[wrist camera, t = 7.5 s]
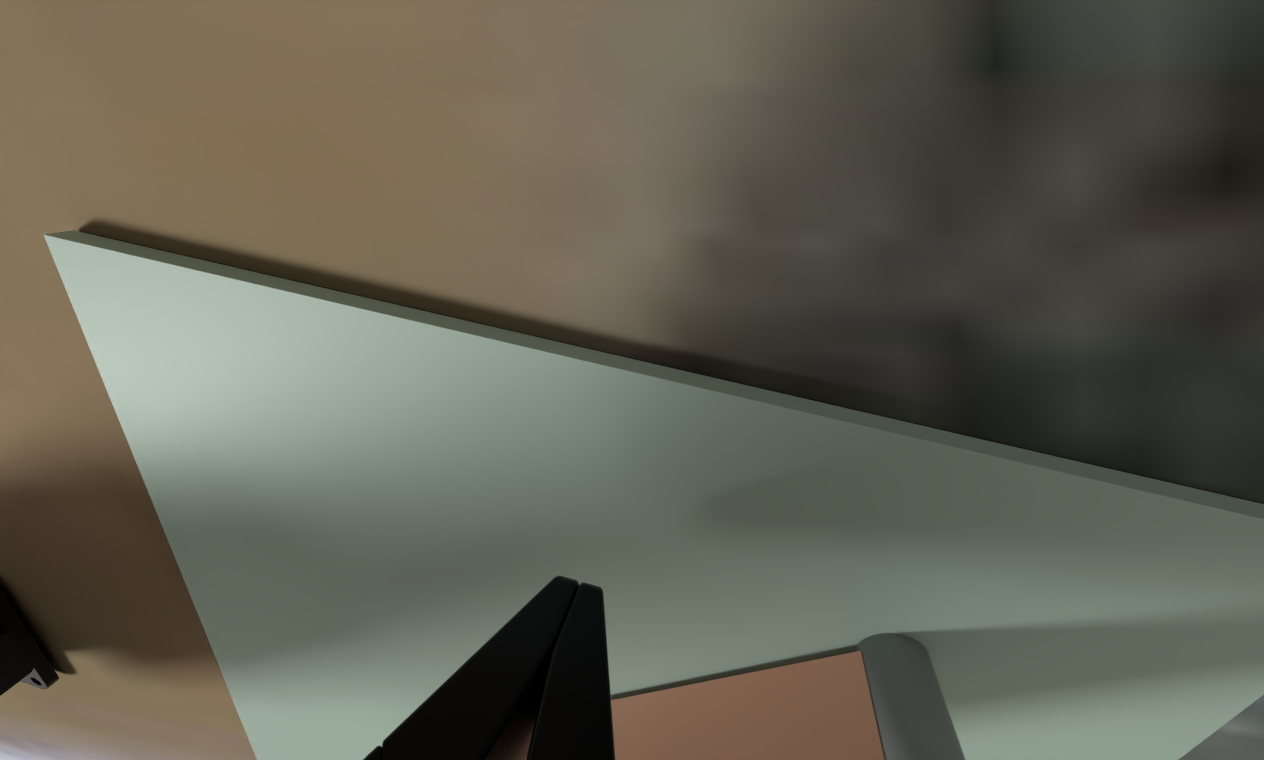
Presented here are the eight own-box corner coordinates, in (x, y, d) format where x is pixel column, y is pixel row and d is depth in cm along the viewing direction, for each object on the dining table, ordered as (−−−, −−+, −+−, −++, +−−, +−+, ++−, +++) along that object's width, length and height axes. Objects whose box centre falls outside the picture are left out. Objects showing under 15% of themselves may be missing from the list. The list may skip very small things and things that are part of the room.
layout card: (287, 799, 22) (277, 814, 21) (73, 230, 10) (40, 235, 10) (834, 999, 19) (836, 1022, 19) (1398, 534, 7) (1445, 563, 7)
